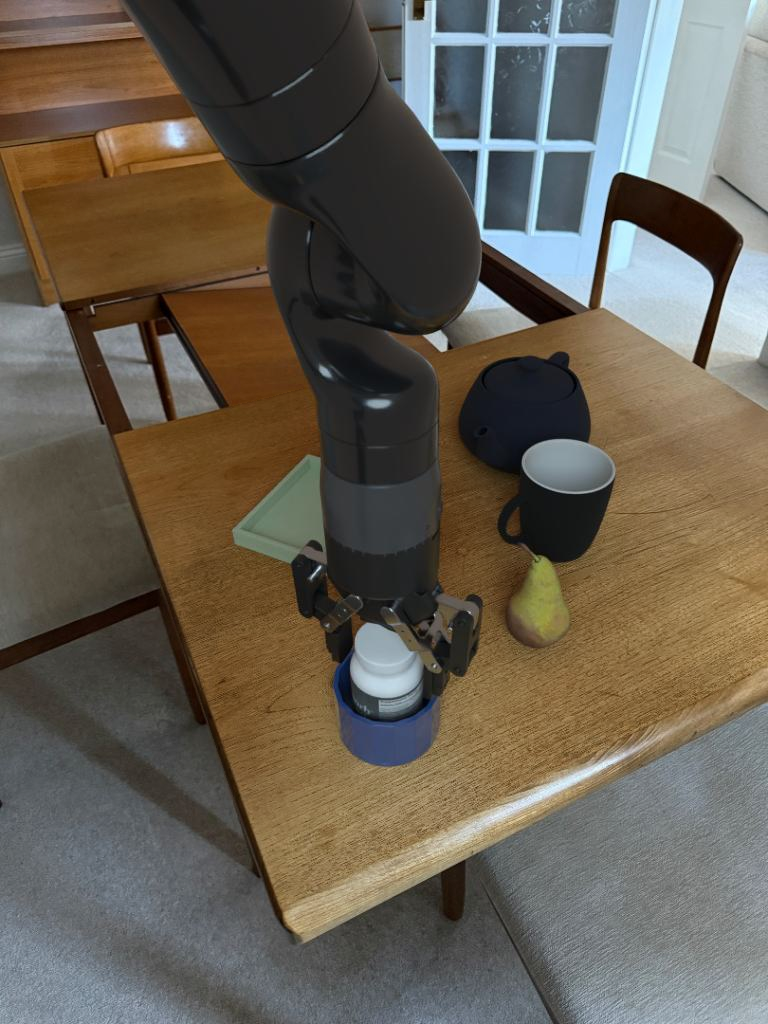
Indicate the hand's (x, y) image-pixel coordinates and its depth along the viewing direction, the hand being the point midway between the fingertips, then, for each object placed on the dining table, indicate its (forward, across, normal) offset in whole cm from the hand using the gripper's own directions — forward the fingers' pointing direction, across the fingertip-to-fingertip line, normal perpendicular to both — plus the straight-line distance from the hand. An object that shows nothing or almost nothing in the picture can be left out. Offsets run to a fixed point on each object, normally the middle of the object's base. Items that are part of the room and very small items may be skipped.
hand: (387, 672), depth 57 cm
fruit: (+7, +8, +14) cm, 17 cm away
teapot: (+7, -3, +41) cm, 42 cm away
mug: (+7, +5, +26) cm, 27 cm away
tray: (+6, -17, +20) cm, 27 cm away
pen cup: (+6, 0, 0) cm, 6 cm away
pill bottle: (+6, 0, 0) cm, 6 cm away
